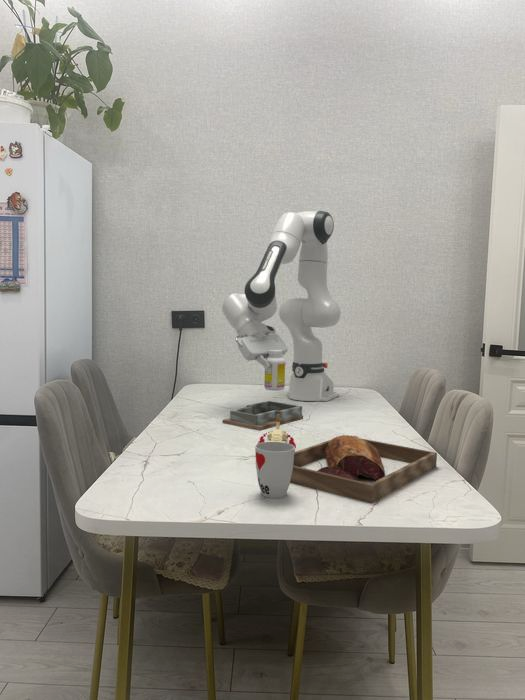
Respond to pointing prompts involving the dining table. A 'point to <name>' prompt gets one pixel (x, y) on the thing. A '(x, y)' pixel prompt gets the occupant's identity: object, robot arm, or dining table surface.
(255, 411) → the keyhole dock
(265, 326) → the robot arm
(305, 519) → the dining table surface
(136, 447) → the dining table surface
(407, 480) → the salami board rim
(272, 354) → the supplement bottle
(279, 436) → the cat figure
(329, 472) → the cured meat
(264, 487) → the cup
